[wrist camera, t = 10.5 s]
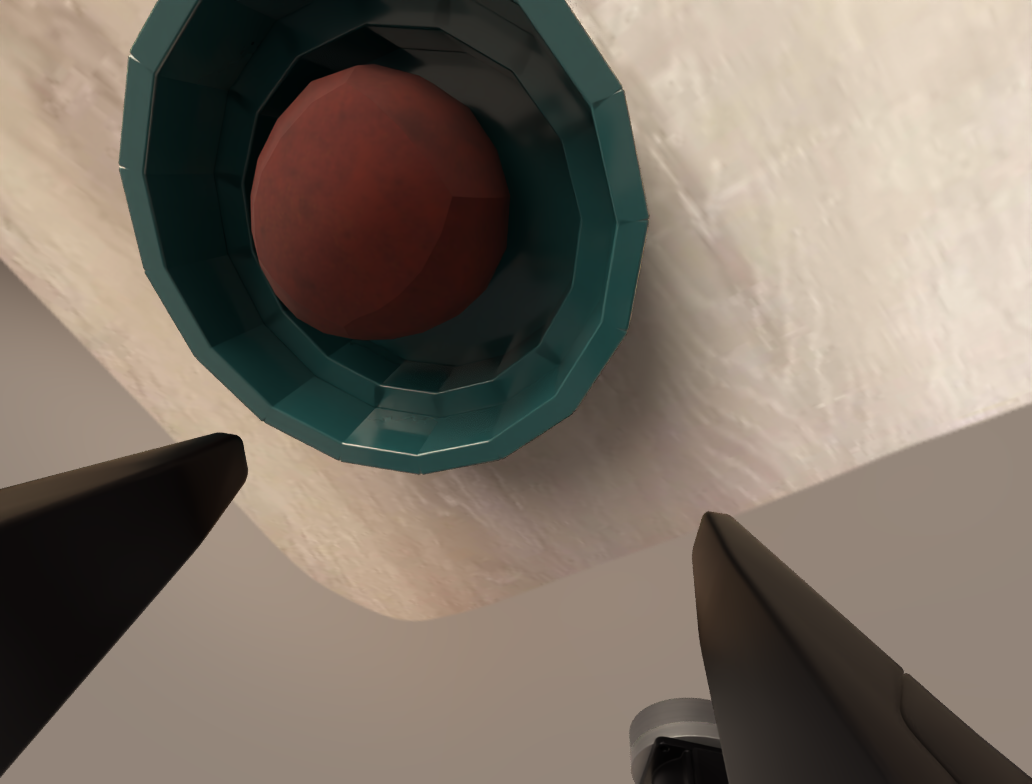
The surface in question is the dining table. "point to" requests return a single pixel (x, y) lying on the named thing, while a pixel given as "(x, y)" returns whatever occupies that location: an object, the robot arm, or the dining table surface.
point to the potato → (378, 205)
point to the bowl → (448, 346)
